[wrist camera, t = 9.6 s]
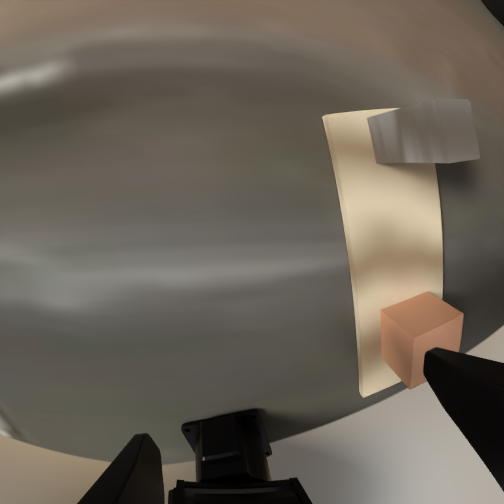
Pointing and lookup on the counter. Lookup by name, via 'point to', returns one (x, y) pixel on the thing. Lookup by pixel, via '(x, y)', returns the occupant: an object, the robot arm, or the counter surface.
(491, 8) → the high-heeled shoe
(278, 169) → the counter surface
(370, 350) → the strip
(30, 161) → the counter surface
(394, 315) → the block
